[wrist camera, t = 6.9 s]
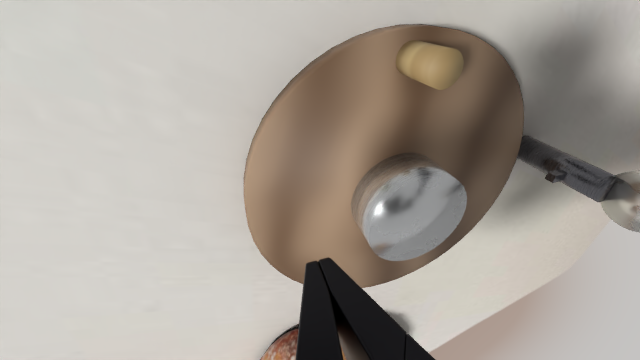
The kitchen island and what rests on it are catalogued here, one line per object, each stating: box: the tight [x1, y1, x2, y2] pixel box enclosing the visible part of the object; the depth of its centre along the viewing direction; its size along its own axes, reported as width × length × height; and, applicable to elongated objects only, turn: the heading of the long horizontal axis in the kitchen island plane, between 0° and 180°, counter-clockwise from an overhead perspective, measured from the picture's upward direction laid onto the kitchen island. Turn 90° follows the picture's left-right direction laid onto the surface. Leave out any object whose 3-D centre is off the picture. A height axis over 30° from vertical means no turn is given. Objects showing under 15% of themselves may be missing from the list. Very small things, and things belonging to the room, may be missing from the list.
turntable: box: [244, 24, 524, 288], centre depth 20 cm, size 21×21×4 cm
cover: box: [351, 152, 467, 261], centre depth 19 cm, size 7×7×3 cm
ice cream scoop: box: [517, 136, 640, 232], centre depth 21 cm, size 3×4×10 cm
